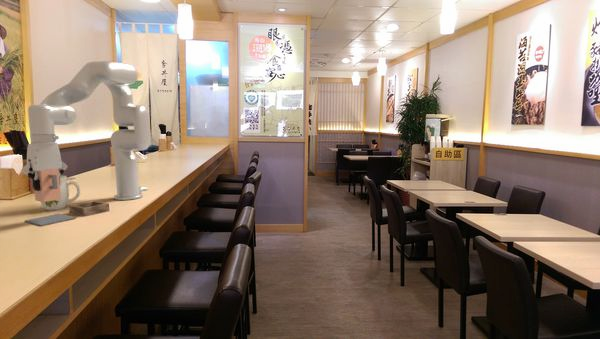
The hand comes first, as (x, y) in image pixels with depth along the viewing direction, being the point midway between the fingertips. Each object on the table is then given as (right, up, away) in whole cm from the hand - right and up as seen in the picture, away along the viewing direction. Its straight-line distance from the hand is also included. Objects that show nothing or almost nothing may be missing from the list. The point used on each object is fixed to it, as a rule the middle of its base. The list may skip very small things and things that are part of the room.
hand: (47, 188), depth 150 cm
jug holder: (+8, -10, +14) cm, 19 cm away
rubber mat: (0, -12, +2) cm, 12 cm away
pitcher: (-9, -9, +21) cm, 25 cm away
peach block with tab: (+1, -4, 0) cm, 4 cm away
